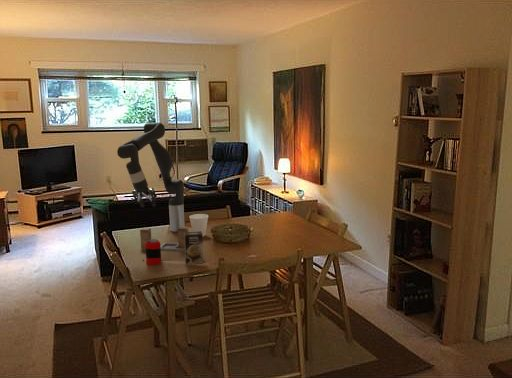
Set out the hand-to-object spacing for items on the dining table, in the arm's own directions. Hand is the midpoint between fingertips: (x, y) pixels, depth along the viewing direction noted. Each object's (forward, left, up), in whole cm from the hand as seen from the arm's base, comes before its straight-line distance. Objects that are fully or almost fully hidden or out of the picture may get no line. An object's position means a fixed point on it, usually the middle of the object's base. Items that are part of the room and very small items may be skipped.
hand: (148, 206), depth 258 cm
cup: (-33, +18, -26) cm, 46 cm away
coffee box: (+15, +30, -26) cm, 42 cm away
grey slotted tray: (-3, +14, -26) cm, 29 cm away
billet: (-3, -4, -26) cm, 26 cm away
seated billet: (-3, +18, -24) cm, 30 cm away
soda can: (+18, +9, -26) cm, 33 cm away
